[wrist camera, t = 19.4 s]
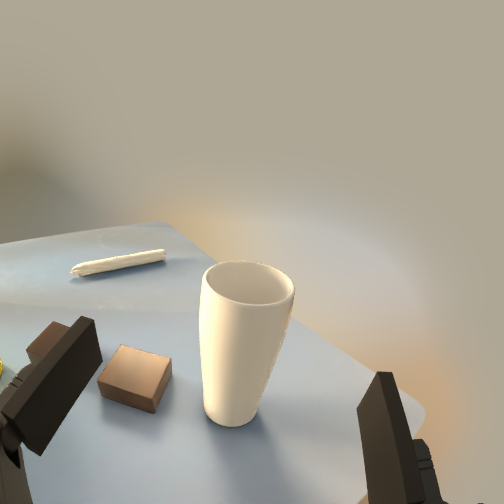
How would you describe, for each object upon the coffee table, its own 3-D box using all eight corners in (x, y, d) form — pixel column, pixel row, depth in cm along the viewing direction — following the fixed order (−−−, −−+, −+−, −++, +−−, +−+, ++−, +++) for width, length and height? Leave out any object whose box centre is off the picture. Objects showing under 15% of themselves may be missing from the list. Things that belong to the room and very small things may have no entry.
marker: (71, 280, 43) (70, 267, 43) (70, 274, 45) (68, 262, 44) (165, 261, 55) (165, 250, 54) (161, 257, 56) (161, 245, 55)
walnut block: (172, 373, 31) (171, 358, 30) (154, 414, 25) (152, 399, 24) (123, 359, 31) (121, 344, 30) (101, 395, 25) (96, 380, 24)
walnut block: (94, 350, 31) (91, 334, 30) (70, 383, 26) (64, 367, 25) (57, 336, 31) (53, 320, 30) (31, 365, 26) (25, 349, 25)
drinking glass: (221, 375, 32) (236, 252, 26) (275, 403, 29) (310, 279, 23) (181, 411, 26) (181, 279, 20) (240, 447, 23) (269, 321, 17)
